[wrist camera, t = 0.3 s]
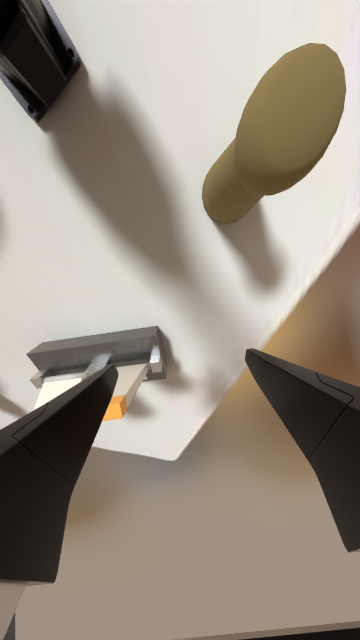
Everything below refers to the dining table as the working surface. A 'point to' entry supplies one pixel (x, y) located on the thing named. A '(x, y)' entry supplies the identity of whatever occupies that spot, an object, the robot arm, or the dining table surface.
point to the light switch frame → (100, 354)
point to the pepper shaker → (278, 132)
